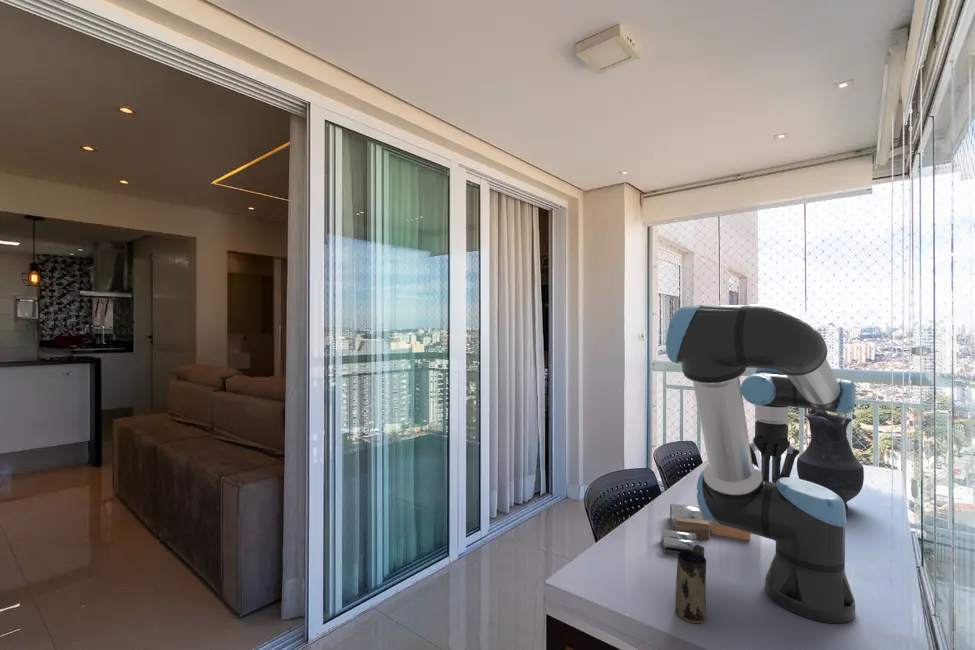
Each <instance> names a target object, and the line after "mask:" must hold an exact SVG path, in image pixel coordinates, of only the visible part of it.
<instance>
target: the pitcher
mask: <svg viewBox="0 0 975 650" xmlns="http://www.w3.org/2000/svg"><path fill="white" fill-rule="evenodd" d="M809 410H810V411H809V414H808V413H807V414H805V417H806V419H807V420H808V424H809V429H810V430H809V431H810V438H811V439H810V441H809V444H808V445H807V447H806V448H805V450H804V451H803V452H802V453H801V454H799V455H798V456H797V458H796V459H797V460H796V473H797V476H798V479H801V480H805V481H809V482H812V483H815V484H818V485H820V486H823V487H825V488H827V489H829V490H831V491H833V492H834V493H836V494H837V495H838V496H840V497H841V499H842V500H843V501H844V504H845V511H847V510H848V509H849V506H848V504H847V503H848V502H849V501H851V500H852V499H854V498H855V497H857V496H858V495H859V494H860V492H861V490H863V489H862V488H863V485H864V480H865V472H864V471H865V468H864V466H863V464H862V463H860V461H859V460H858V459H857V457H856V455H855V453H854V452H853V450H852V447H851V445H850V442H849V440H848V436H847V428H848V426H849V424H850V422H852V420H853V418H850V417H846V416H841V415H835V414H831V413H828V411H822V410H815V409H809Z"/></svg>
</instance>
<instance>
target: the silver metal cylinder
mask: <svg viewBox="0 0 975 650" xmlns="http://www.w3.org/2000/svg"><path fill="white" fill-rule="evenodd" d="M671 504H672V510H671V516H672V521H671V523H672V524H671V525H672V527H673V528H675V517H680V518H689V519H698V520H707V518H706V517H705V516H704V515H703V514H702V512H701V510H700V508H699V506H697V505H688V504H687V505H685V504H676V503H671Z"/></svg>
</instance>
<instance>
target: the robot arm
mask: <svg viewBox="0 0 975 650" xmlns="http://www.w3.org/2000/svg"><path fill="white" fill-rule="evenodd" d="M665 346H666V347H665V350H666V354H667V357H668V360H670V361H671V362H672V363H675V364H680V365H681V368H682V373H683V376H684V377H685V378H686V379H687V380H689V381H691V382H692V384H693V390H694V395H695V400H696V404H697V409H698V415H699V420H700V426H701V427H700V428H701V431H702V436H703V441H704V448H705V452H706V458H707V463H708V464H707V465H706V466H705V467H704V469H703V470H702V471H701V472H700V474H699V476H698V479H697V482H696V490H697V493H696V500H697V505H698V507H699V508H700V510H701V512H702V514H703V515H704V516H705V517H706V520H707V521H710V522H711V521H713V522H716V523H718V524H720V525H722V526H727V527H731V528H734V529H738V530H741V531H745V532H748V533H751V535H756V536H758V537H762V538H765V539H769V540H772V541H775V554H774V557H773V559H772V561H771V563H770V566H769V568H768V570H767V573H766V575H765V578H764V579H765V580H764V589H765V594H767V595H768V597H769V598H770V599H771V600H772V601H774V602H775V603H776V604H777V605H779V606H781V607H782V608H783V609H786V610H787V611H789V612H792V613H794V614H796V615H798V616H801V617H803V618H806V619H807V618H808V619H810V620H814V621H818V622H823V623H829V624H845V623H849V622H851V621H853V620H854V619H855V618H856V602H855V597H854V595H853V592H852V589H851V585H850V583H849V580H848V577H847V574H846V572H845V571H846V569H845V568H846V562H845V561H846V526H847V525H848V520H847V515H846V510H845V504H844V501H843V500H842V499H841V497H840V496H838V495H837V494H836V493H834V492H833V491H831V490H829V489H827V488H825V487H823V486H820V485H818V484H815V483H812V482H809V481H805V480H801V479H799V478H793V477H791V473H792V469H793V468H794V467H793V466H794V464H795V463H794V462H795V459H797V458H796V457H798V456H799V455H800V453H801V452H800V450H799V449H798V448H796V447H794V446H792V445H791V442H790V441H789V424H788V423H787V422H789V407H790V408H800V409H808V410H811V409H815V410H822V411H826V412H831V413H833V414H834V413H835V414H836V413H841V414H844V413H845V414H850V413H853V411H855V410H854V409H855V405H856V385H855V383H854V382H853V381H852V380H848V379H842V378H837V376H836V375H835V373H834V371H833V369H832V367H831V365H830V364H829V362H828V359H827V356H828V347H827V343H826V341H825V339H824V338H823V335H822V333H820V332H819V330H818V329H817V328H816V327H814V326H813V324H811V323H809V322H808V321H807V320H805V319H803V317H801V316H798V315H796V314H794V313H792V312H791V311H788V310H786V309H785V310H784V309H782V308H779V307H776V306H772V305H768V304H724V305H723V304H722V305H721V304H714V305H708V304H707V305H704V304H698V305H689V306H688V305H687V306H686V305H685V306H682V307H680V308H678V309H677V310H676V311H675V312H674V313H673V315H672V317H671V319H670V322H669V325H668V328H667V333H666V340H665ZM749 368H750V369H752V368H753V369H755V371H754V372H755V373H752V374H751V375H749V376H747V377H746V378H745V379H744V380H743V381H742V382H741V380H740V377H742V376H743V375H744V374H745V373H746V371H747V369H749ZM743 398H744V399H745V401H747V403H750V404H752V405H755V413H754V415H755V418H756V420H755V422H754V423H755V424H754V437H753V438H752V442H750V439H749V433H748V426H747V420H746V419H747V418H746V413H745V406H744V399H743ZM756 449H758V451H759V452H760V457H761V459H760V460H761V461H760V462H761V463H760V464H761V470H760V468H759V463H758V460H757V459H758V458H757V456H756ZM785 452H786V455H785V458H784V462H783V465H782V468H781V462H782V455H783V454H784V453H785ZM770 460H771V461H770ZM770 463H771V481H770Z"/></svg>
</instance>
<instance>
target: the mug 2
mask: <svg viewBox="0 0 975 650" xmlns="http://www.w3.org/2000/svg"><path fill="white" fill-rule="evenodd" d="M676 563H677V564H676V577H675V578H676V580H675V614H676V615H675V616H677V617H678V618H679V619H680V620H682V621H684V622H686V623H689V624H692V625H702V623H703V624H705V623H706V622H707V620H706V619H708V618H707V589H706V587H707V579H706V578H707V558H706V557H705V547H704V546H701V545H700V546H698V545H695V546H694V548H693V549H692V550H690V551H683V552H680V553H679V554H678V555H677V562H676ZM705 621H706V622H705ZM704 622H705V623H704Z"/></svg>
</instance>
